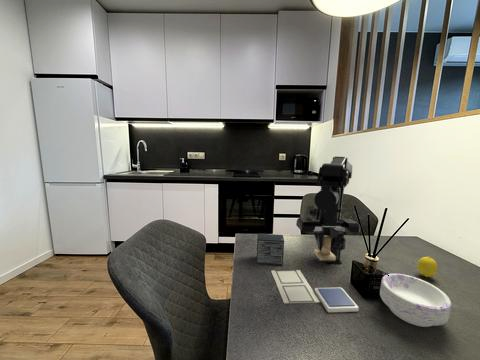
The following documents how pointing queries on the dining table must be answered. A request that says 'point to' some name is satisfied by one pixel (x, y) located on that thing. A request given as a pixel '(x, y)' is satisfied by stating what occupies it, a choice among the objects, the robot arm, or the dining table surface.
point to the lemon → (427, 266)
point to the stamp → (325, 250)
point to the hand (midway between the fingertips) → (324, 250)
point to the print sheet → (294, 287)
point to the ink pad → (336, 300)
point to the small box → (270, 249)
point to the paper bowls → (415, 300)
